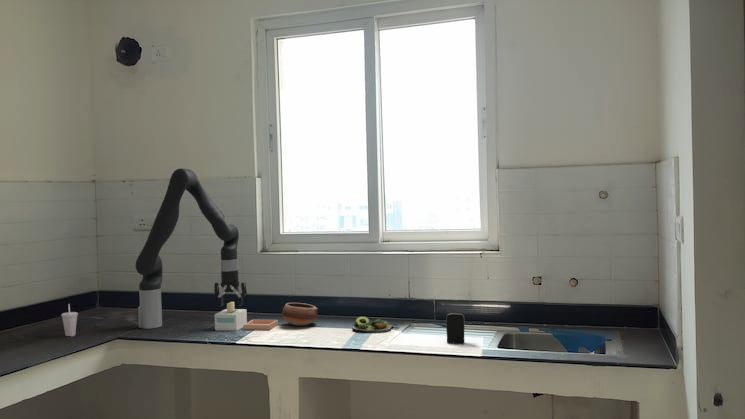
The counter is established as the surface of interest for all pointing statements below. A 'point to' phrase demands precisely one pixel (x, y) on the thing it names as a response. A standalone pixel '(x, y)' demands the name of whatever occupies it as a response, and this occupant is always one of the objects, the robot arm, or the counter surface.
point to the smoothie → (69, 322)
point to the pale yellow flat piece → (230, 307)
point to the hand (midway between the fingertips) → (230, 305)
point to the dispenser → (230, 320)
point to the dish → (260, 325)
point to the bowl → (299, 313)
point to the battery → (455, 328)
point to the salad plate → (371, 325)
